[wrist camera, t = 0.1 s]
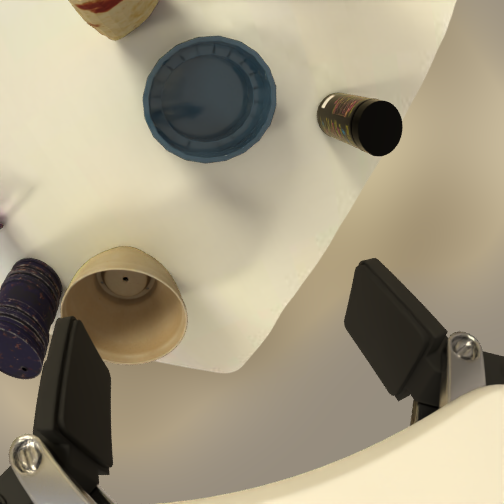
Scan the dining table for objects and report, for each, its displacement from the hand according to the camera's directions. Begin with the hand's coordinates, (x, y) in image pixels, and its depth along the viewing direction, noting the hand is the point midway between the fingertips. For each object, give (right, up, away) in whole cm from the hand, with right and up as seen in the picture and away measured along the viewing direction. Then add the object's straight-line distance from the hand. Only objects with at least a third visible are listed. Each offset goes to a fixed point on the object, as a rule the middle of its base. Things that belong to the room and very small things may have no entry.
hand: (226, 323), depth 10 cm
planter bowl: (-18, -1, +33) cm, 38 cm away
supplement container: (+12, +22, +29) cm, 38 cm away
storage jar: (-33, -3, +29) cm, 44 cm away
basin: (-5, +21, +24) cm, 32 cm away
